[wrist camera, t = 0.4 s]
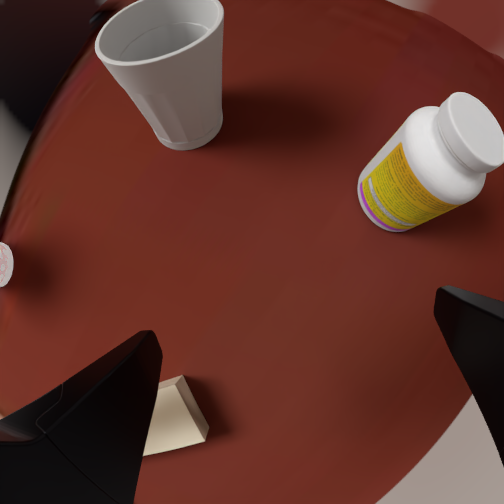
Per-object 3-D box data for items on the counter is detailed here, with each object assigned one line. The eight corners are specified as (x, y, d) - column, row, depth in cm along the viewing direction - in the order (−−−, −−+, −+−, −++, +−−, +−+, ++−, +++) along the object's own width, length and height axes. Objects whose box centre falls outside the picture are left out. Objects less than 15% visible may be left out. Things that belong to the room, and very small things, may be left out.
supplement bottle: (407, 247, 23) (515, 209, 10) (343, 210, 23) (424, 134, 11) (426, 185, 24) (515, 124, 11) (368, 149, 24) (438, 59, 12)
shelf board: (209, 425, 21) (205, 441, 18) (107, 449, 20) (93, 463, 17) (183, 373, 22) (174, 384, 19) (82, 404, 21) (66, 414, 18)
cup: (149, 94, 25) (110, 6, 13) (229, 84, 25) (222, -16, 13) (143, 164, 24) (81, 80, 12) (234, 153, 24) (225, 51, 12)
